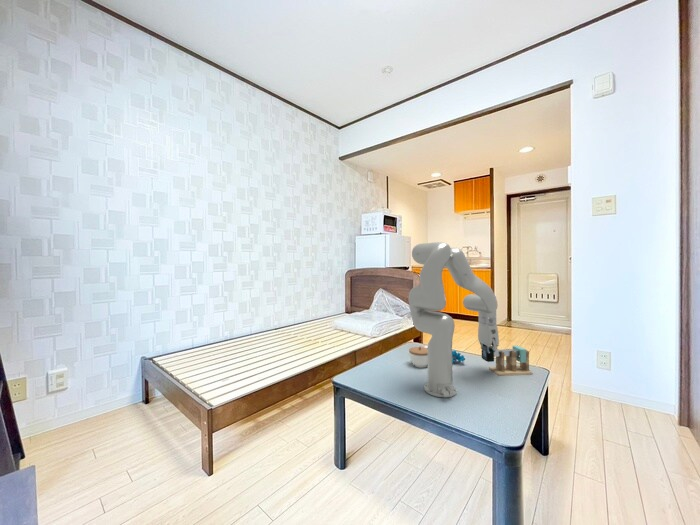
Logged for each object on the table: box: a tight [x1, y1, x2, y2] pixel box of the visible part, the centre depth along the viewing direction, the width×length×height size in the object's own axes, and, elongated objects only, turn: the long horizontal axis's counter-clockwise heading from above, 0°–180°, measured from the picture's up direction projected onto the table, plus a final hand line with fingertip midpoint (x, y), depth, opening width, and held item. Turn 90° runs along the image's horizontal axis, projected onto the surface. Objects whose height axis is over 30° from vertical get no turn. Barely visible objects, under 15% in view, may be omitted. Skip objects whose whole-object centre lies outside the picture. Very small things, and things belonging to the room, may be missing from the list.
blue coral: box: [452, 349, 466, 365], centre depth 147 cm, size 11×6×10 cm
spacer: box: [512, 345, 527, 363], centre depth 135 cm, size 6×2×6 cm, turn 5°
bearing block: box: [488, 348, 533, 377], centre depth 134 cm, size 8×16×10 cm, turn 95°
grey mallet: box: [482, 346, 528, 362], centre depth 134 cm, size 4×20×6 cm, turn 95°
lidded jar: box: [408, 345, 428, 368], centre depth 144 cm, size 11×11×9 cm
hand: (487, 359), depth 133 cm, fingers closed on grey mallet, 3 cm apart
